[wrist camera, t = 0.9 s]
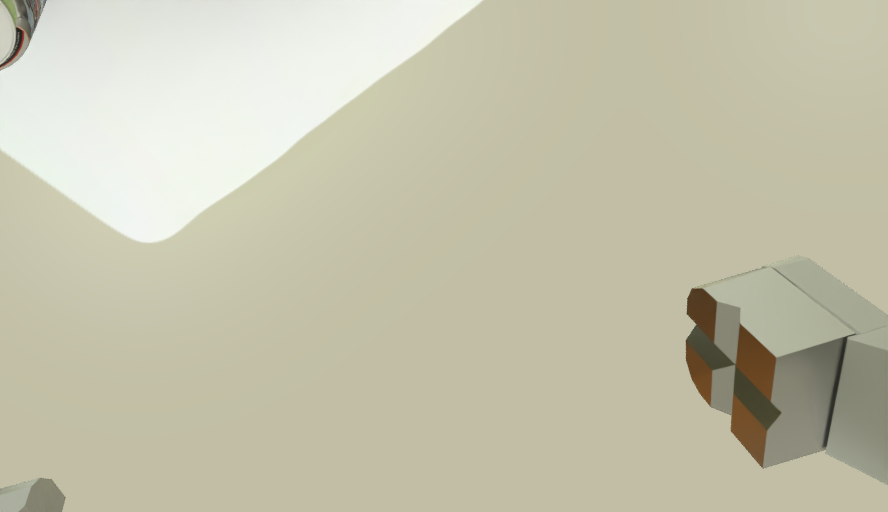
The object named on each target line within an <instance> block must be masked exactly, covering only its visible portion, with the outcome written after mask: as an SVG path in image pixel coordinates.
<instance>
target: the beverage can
mask: <svg viewBox="0 0 888 512" xmlns="http://www.w3.org/2000/svg"><path fill="white" fill-rule="evenodd" d="M45 3H46V0H0V70H2V69H5V68H7V67H9V66H11V65H12V64H13V63H15V62H16V61H17V60H18V59H19V58H20V57H21V56H22V55H23V54H24V52H25V51H26V49H27V47H28V45H29V43H30V40H31V38H32V35H33V33H34V30H35V28H36V25H37V23H38V21H39V18H40V16H41V13H42V11H43V8H44V6H45Z"/></svg>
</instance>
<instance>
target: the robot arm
mask: <svg viewBox="0 0 888 512" xmlns="http://www.w3.org/2000/svg"><path fill="white" fill-rule="evenodd" d="M687 315H688V316H689V317H690V318H691V319H692V320H693V321H694V322H695V323H696V326H695V327H694V329H693V330H692V332H691V334H690V335H689V336H688V338H687V340H686V361H687V365H688V368H689V372H690V375H691V378H692V381H693V382H694V384H695V386H696V388H697V389H698V391H699V393H700V394H701V396H702V397H703V398H704V399H705V400H706V402H707V403H708V404H709V405H710V407H712V408H715V409H717V410H720V411H722V412H724V413H727V414H729V415H731V432H732V433H733V434H734V435H735V436H736V438H737V439H738V440H739V441H740V442H741V444H742V445H743V446H744V447H745V448H746V450H747V451H748V452H749V453H750V454H751V455H752V457H753V458H754V459H755V460H756V461H757V462H758V464H759V465H760V466H761V467H762V468H766V467H769V466H773V465H777V464H780V463H783V462H786V461H790V460H793V459H797V458H800V457H803V456H807V455H810V454H813V453H817V452H820V451H823V450H826V454H828V455H830V456H832V457H833V458H835V459H837V460H840V461H841V462H844V463H845V464H847V465H849V466H851V467H853V468H855V469H857V470H859V471H861V472H863V473H865V474H867V475H869V476H871V477H873V478H875V479H877V480H879V481H881V482H883V483H885V484H887V485H888V315H887V314H886V313H884V312H883V311H881V310H880V309H879V308H877V307H876V306H875V305H873V304H872V303H870V302H869V301H868V300H866V299H865V298H863V297H862V296H861V295H859V294H858V293H856V292H855V291H854V290H852V289H851V288H849V287H848V286H847V285H845V284H844V283H842V282H841V281H840V280H838V279H837V278H835V277H834V276H833V275H831V274H830V273H828V272H827V271H826V270H824V269H823V268H822V267H820V266H819V265H817V264H816V263H815V262H813V261H812V260H810V259H808V258H805V257H801V256H794V257H791V258H788V259H785V260H782V261H778V262H775V263H772V264H769V265H766V266H763V267H762V268H760V269H755V270H752V271H748V272H745V273H742V274H738V275H735V276H732V277H728V278H725V279H722V280H718V281H715V282H712V283H708V284H705V285H701V286H698V287H695V288H692V289H691V292H690V294H689V296H688V298H687ZM64 501H65V496H64V495H63V494H62V492H61V491H60V490H59V488H58V487H57V486H56V484H55V483H54V482H53V481H52V480H51V479H44V478H38V479H35V480H31V481H27V482H24V483H20V484H16V485H12V486H8V487H4V488H1V489H0V512H62V509H63V505H64Z"/></svg>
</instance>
